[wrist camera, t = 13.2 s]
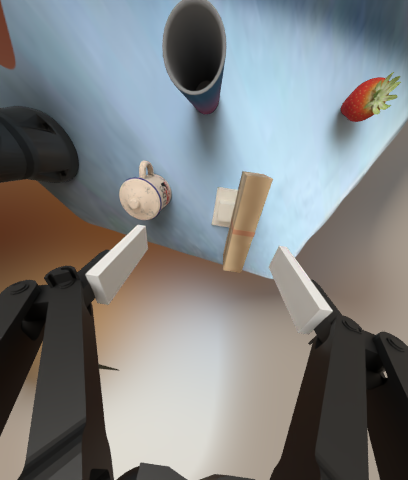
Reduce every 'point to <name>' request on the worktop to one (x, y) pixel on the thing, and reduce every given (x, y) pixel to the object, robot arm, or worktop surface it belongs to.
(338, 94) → the worktop surface
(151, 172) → the teacup with lid
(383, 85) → the fruit
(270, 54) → the worktop surface
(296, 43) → the worktop surface
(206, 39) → the cup
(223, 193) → the fulcrum
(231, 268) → the beam
